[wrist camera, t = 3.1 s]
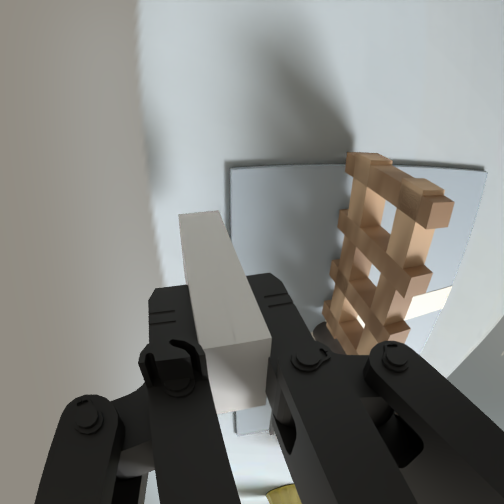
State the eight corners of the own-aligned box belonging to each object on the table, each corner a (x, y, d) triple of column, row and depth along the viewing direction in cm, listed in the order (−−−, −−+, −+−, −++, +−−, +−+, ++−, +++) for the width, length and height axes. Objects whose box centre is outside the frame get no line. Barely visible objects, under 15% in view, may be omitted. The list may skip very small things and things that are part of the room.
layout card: (229, 167, 14) (231, 170, 14) (484, 170, 18) (488, 172, 18) (236, 433, 27) (237, 436, 26) (399, 387, 31) (400, 389, 30)
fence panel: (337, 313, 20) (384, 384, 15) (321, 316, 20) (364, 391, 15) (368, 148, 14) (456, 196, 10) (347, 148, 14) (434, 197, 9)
